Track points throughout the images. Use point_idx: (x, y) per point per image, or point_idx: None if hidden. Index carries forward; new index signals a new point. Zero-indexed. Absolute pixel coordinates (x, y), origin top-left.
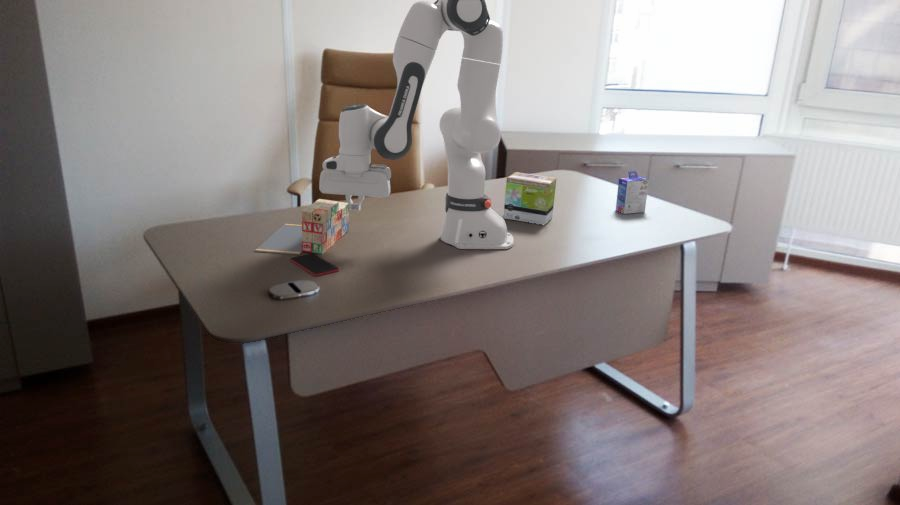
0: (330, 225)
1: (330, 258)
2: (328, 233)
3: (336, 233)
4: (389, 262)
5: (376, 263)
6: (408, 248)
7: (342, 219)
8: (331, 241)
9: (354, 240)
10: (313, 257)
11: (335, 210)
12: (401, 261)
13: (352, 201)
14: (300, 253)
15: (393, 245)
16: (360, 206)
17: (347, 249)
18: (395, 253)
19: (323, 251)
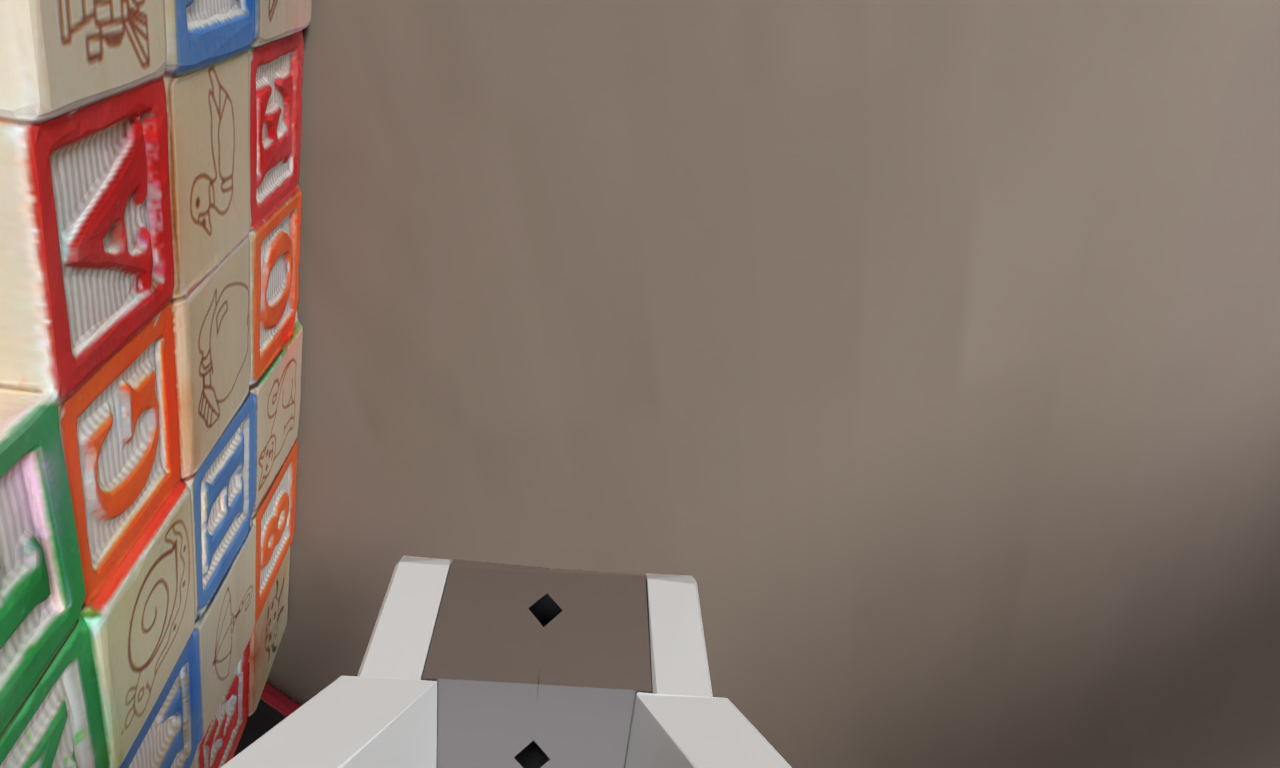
0: (179, 668)
1: None
2: (225, 652)
3: (260, 288)
4: (974, 723)
5: (853, 751)
6: (1264, 366)
7: (184, 3)
8: (278, 447)
9: (542, 132)
10: (246, 738)
11: (27, 621)
12: (1091, 695)
13: (402, 709)
14: None
15: (1094, 280)
16: (698, 645)
17: (518, 469)
18: (1070, 525)
19: (283, 616)
